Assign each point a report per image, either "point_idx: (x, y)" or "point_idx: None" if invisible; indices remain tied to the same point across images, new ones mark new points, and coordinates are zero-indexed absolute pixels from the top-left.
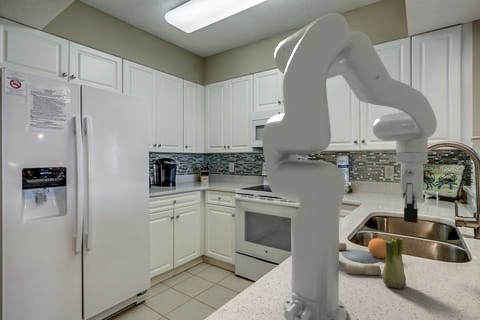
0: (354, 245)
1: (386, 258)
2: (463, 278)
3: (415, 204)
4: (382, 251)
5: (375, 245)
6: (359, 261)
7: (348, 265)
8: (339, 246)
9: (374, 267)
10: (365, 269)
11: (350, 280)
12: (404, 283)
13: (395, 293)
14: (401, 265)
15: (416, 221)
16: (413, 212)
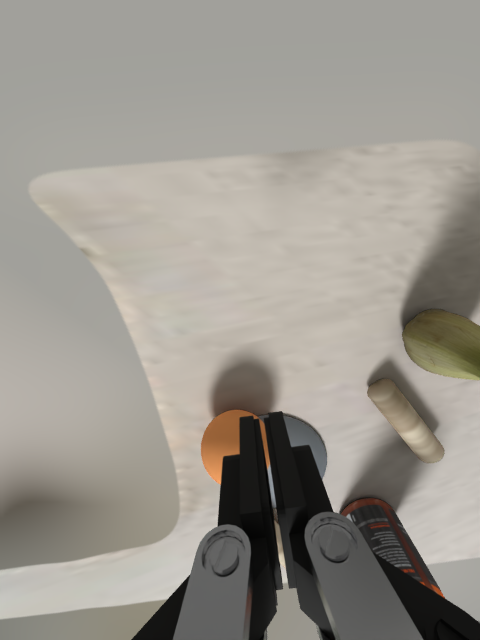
0: (188, 505)
1: None
2: (213, 192)
3: (392, 590)
4: (264, 428)
5: (269, 460)
6: (323, 449)
7: (441, 455)
8: (276, 529)
9: (402, 403)
10: (417, 416)
11: (464, 419)
12: (447, 312)
13: (469, 318)
14: (476, 339)
15: (281, 419)
16: (326, 495)
